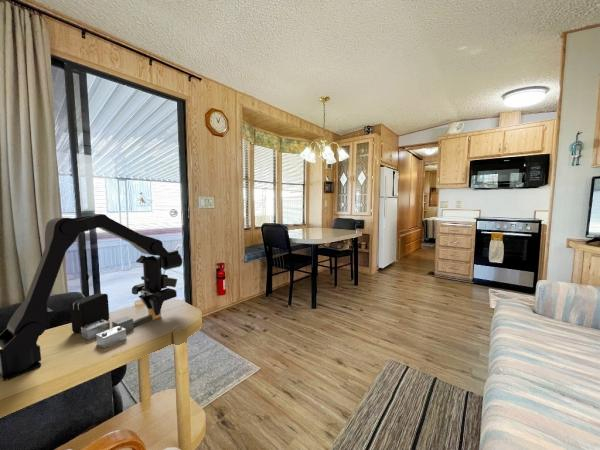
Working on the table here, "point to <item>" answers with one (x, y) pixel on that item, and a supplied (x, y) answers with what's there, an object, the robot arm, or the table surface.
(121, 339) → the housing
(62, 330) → the table surface
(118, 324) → the orange and grey dumbbell
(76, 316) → the electronic device
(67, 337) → the table surface
